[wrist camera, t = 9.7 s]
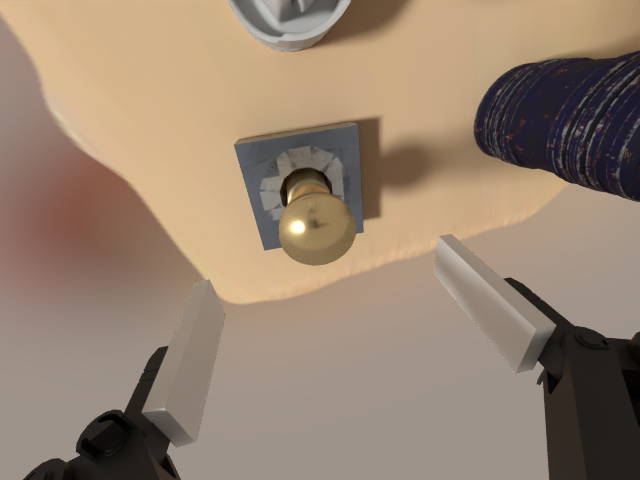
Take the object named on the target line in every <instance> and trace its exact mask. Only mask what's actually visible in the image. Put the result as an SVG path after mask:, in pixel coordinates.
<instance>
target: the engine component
mask: <svg viewBox="0 0 640 480" xmlns="http://www.w3.org/2000/svg"><path fill="white" fill-rule="evenodd" d="M228 2H229V4H230V6H231V8H232V9H233V11H234V13H235V14H236V16H237V18H238V19H239V21H240V22H241V24H242V25H243V26H244V28H245V29H246V30H247V31H248V32H249V33H250V34H251V35H252V36H253V37H254V38H255V39H256V40H258V41H259V42H260V43H262V44H264V45H266V46H267V47H269V48H271V49H275V50H278V51H282V52H296V51H301V50H303V49H306V48H309V47H311V46H312V45H314V44H315V43H317V42H318V41H319V40H320V39H321V38H323V37H324V36H325V34H326V33H327V32H328V31H329V30H330V29H331V27H332V26H333V25H334V24H335V23H336V22H337V20H338V19H339V18H340V17H341V16H342V14H343V13H344V11H345V10H346V8H347V7H348V5H349V4H350V2H351V0H228Z"/></svg>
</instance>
